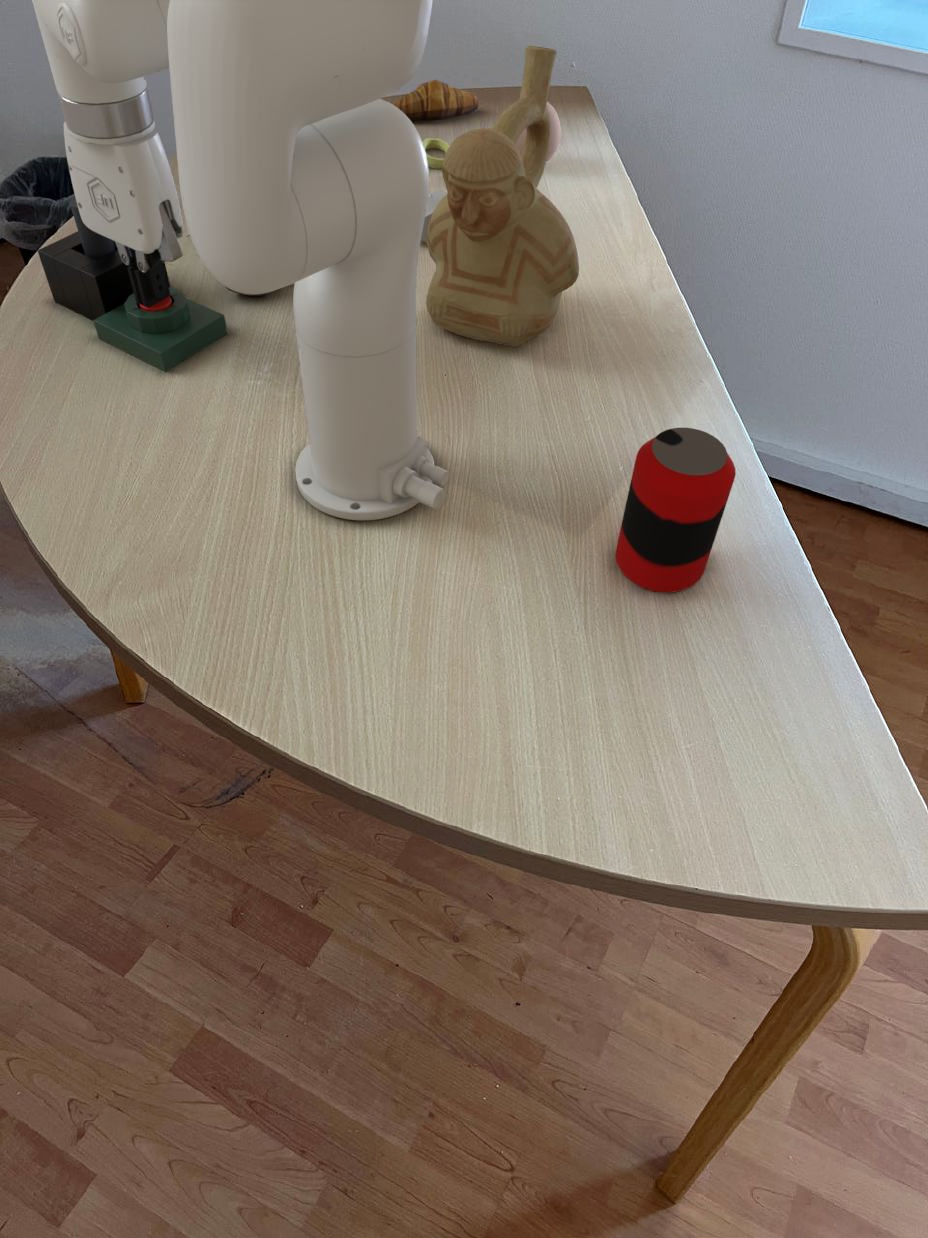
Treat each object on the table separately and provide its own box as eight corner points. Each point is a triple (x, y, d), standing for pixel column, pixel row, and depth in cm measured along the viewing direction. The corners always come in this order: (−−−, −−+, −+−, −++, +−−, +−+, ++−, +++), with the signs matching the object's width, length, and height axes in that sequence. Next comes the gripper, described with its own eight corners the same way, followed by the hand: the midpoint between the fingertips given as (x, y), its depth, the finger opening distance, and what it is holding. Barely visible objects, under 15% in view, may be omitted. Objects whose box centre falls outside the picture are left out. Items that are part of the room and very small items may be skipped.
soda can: (654, 519, 82) (682, 407, 73) (722, 566, 79) (760, 455, 69) (596, 558, 79) (618, 446, 70) (664, 609, 75) (696, 498, 66)
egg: (554, 152, 132) (560, 88, 126) (561, 174, 127) (568, 109, 121) (504, 152, 131) (507, 88, 125) (509, 174, 127) (513, 109, 121)
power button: (180, 314, 97) (177, 298, 96) (158, 327, 96) (154, 312, 94) (159, 304, 98) (155, 288, 97) (136, 317, 97) (132, 301, 95)
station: (227, 333, 100) (221, 299, 96) (165, 371, 95) (156, 337, 92) (162, 302, 103) (154, 269, 100) (98, 338, 98) (88, 304, 95)
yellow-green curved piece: (362, 156, 129) (361, 140, 128) (444, 145, 133) (444, 129, 131) (379, 178, 125) (379, 162, 123) (463, 166, 128) (464, 150, 127)
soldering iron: (134, 297, 104) (108, 199, 95) (112, 309, 102) (84, 210, 94) (114, 287, 105) (87, 190, 97) (92, 299, 103) (62, 201, 95)
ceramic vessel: (390, 340, 99) (381, 87, 81) (466, 259, 111) (474, 22, 92) (536, 383, 95) (563, 126, 76) (600, 294, 107) (636, 52, 88)
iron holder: (172, 293, 104) (160, 242, 100) (110, 328, 99) (94, 276, 95) (117, 269, 108) (103, 218, 103) (54, 301, 103) (37, 250, 98)
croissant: (469, 102, 143) (470, 66, 139) (485, 119, 139) (487, 82, 135) (385, 111, 140) (384, 75, 136) (399, 129, 136) (398, 92, 132)
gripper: (17, 101, 82) (75, 291, 96) (134, 147, 77) (178, 340, 91) (84, 77, 87) (131, 262, 100) (199, 118, 81) (232, 308, 95)
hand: (153, 299), depth 96 cm, fingers closed
